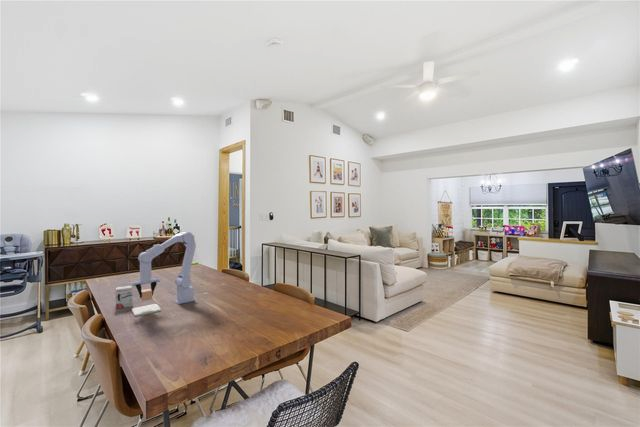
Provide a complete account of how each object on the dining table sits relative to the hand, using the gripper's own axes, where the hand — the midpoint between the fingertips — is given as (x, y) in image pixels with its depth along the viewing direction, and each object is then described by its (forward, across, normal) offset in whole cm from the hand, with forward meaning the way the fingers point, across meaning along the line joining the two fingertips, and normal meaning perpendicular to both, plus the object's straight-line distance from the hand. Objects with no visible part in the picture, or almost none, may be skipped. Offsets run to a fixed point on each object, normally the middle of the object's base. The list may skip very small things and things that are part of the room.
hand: (146, 296), depth 171 cm
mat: (+8, 0, 0) cm, 8 cm away
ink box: (+9, -9, +17) cm, 22 cm away
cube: (+2, 0, 0) cm, 2 cm away
